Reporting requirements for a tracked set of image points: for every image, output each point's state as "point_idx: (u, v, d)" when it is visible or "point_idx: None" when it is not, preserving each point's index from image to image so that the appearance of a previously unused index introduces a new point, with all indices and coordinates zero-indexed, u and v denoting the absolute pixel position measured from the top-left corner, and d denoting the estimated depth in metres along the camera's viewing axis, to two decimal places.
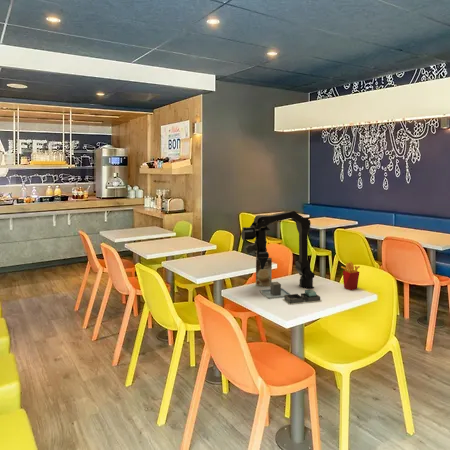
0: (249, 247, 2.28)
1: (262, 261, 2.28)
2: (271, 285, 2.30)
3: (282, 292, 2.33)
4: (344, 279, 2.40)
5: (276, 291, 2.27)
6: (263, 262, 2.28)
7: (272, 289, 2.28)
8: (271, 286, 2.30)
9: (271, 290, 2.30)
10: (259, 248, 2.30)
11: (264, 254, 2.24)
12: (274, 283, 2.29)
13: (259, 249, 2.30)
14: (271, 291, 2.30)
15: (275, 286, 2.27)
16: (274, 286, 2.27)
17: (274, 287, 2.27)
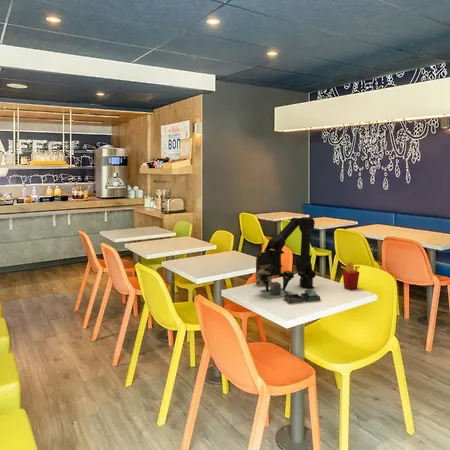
0: (263, 267, 2.34)
1: (265, 284, 2.28)
2: (271, 285, 2.30)
3: (282, 292, 2.33)
4: (344, 279, 2.40)
5: (276, 291, 2.27)
6: (265, 285, 2.27)
7: (272, 289, 2.28)
8: (271, 286, 2.30)
9: (271, 290, 2.30)
10: (270, 271, 2.29)
11: (259, 276, 2.26)
12: (274, 283, 2.29)
13: (270, 272, 2.29)
14: (271, 291, 2.30)
15: (275, 286, 2.27)
16: (274, 286, 2.27)
17: (274, 287, 2.27)
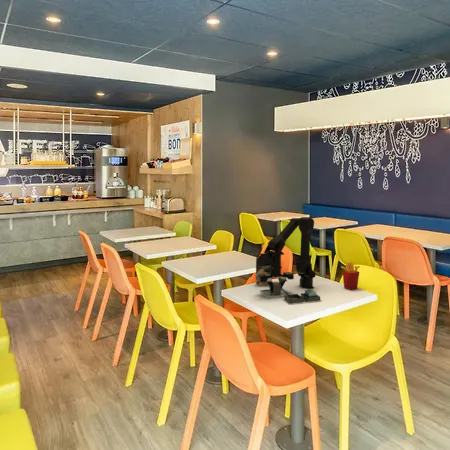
0: (263, 268, 2.34)
1: (269, 284, 2.28)
2: None
3: (282, 292, 2.33)
4: (344, 279, 2.40)
5: (276, 291, 2.27)
6: (269, 286, 2.28)
7: None
8: None
9: None
10: (270, 272, 2.29)
11: (259, 277, 2.26)
12: (274, 283, 2.29)
13: (270, 273, 2.29)
14: None
15: (275, 286, 2.27)
16: (274, 286, 2.27)
17: (274, 287, 2.27)
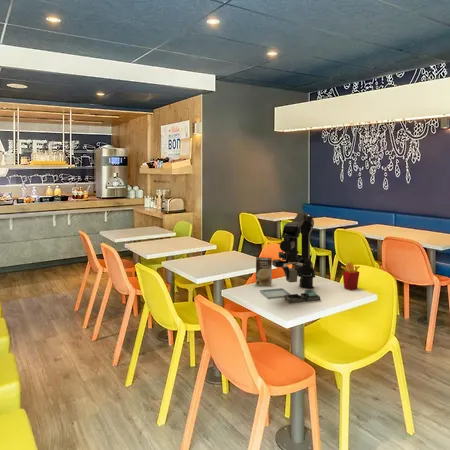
0: (279, 253, 2.21)
1: (285, 270, 2.16)
2: None
3: (282, 292, 2.33)
4: (344, 279, 2.40)
5: (292, 277, 2.15)
6: (285, 272, 2.15)
7: None
8: None
9: None
10: (285, 257, 2.16)
11: (274, 263, 2.13)
12: (290, 269, 2.16)
13: (285, 258, 2.16)
14: None
15: (291, 272, 2.14)
16: (290, 272, 2.14)
17: (290, 274, 2.14)
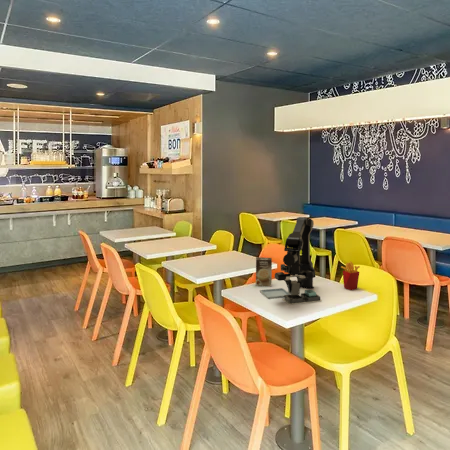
0: (281, 266, 2.21)
1: (287, 283, 2.16)
2: None
3: (282, 292, 2.33)
4: (344, 279, 2.40)
5: (295, 290, 2.14)
6: (288, 285, 2.15)
7: (291, 288, 2.15)
8: None
9: None
10: (288, 270, 2.16)
11: (277, 276, 2.13)
12: (292, 282, 2.16)
13: (288, 271, 2.16)
14: None
15: (294, 285, 2.14)
16: (293, 285, 2.14)
17: (293, 286, 2.14)
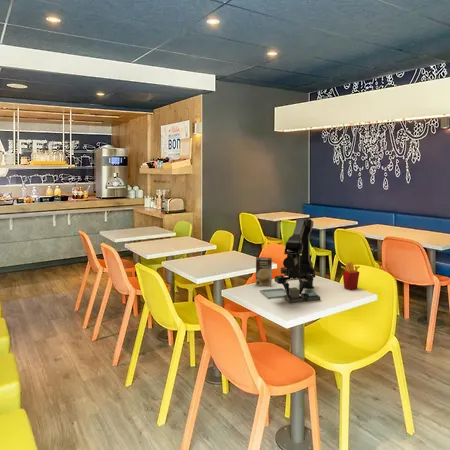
0: (281, 269, 2.21)
1: (285, 287, 2.15)
2: (289, 291, 2.17)
3: (282, 292, 2.33)
4: (344, 279, 2.40)
5: (295, 297, 2.15)
6: (285, 288, 2.15)
7: (290, 295, 2.16)
8: (289, 292, 2.17)
9: (289, 296, 2.18)
10: (288, 273, 2.16)
11: (277, 279, 2.13)
12: (292, 289, 2.16)
13: (288, 274, 2.16)
14: (289, 297, 2.18)
15: (293, 292, 2.14)
16: (292, 292, 2.14)
17: (292, 294, 2.14)
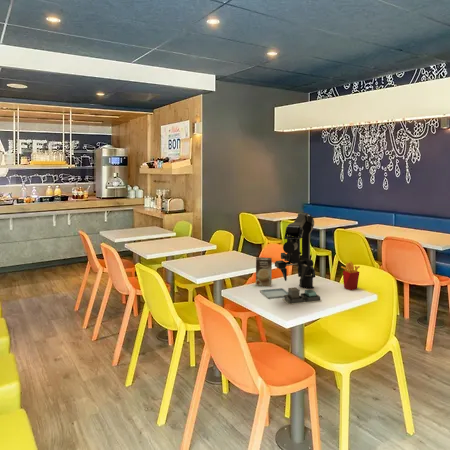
0: (281, 254, 2.21)
1: (283, 272, 2.16)
2: (289, 291, 2.17)
3: (282, 292, 2.33)
4: (344, 279, 2.40)
5: (295, 297, 2.15)
6: (283, 273, 2.15)
7: (290, 295, 2.16)
8: (289, 292, 2.17)
9: (289, 296, 2.18)
10: (288, 258, 2.16)
11: (277, 264, 2.13)
12: (292, 289, 2.16)
13: (288, 259, 2.17)
14: (289, 297, 2.18)
15: (293, 292, 2.14)
16: (292, 292, 2.14)
17: (292, 294, 2.14)
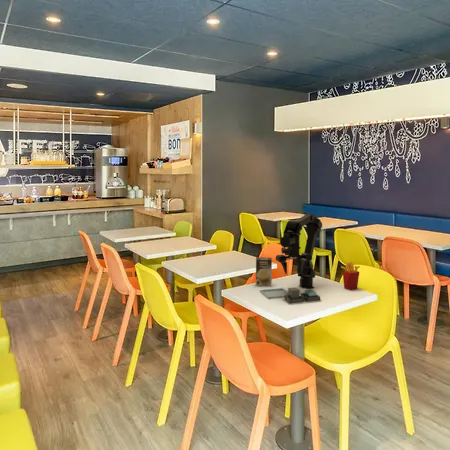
0: (281, 249, 2.34)
1: (283, 265, 2.28)
2: (289, 291, 2.17)
3: (282, 292, 2.33)
4: (344, 279, 2.40)
5: (295, 297, 2.15)
6: (284, 267, 2.27)
7: (290, 295, 2.16)
8: (289, 292, 2.17)
9: (289, 296, 2.18)
10: (288, 253, 2.29)
11: (277, 258, 2.26)
12: (292, 289, 2.16)
13: (288, 254, 2.29)
14: (289, 297, 2.18)
15: (293, 292, 2.14)
16: (292, 292, 2.14)
17: (292, 294, 2.14)
